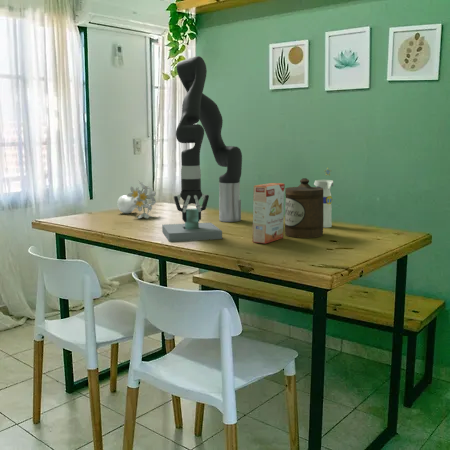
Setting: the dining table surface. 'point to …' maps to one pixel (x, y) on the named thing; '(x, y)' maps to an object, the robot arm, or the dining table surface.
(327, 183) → the white spray bottle
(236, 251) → the dining table surface
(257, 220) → the cracker box
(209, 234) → the pocket plate
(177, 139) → the robot arm
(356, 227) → the dining table surface
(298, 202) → the wooden container
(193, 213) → the teal block
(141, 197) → the flower vase
